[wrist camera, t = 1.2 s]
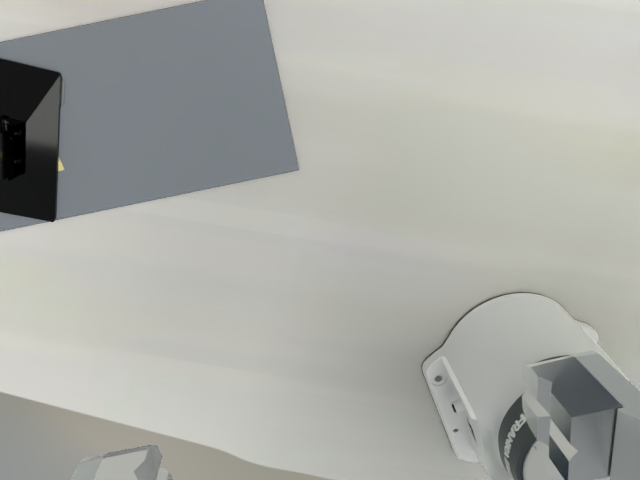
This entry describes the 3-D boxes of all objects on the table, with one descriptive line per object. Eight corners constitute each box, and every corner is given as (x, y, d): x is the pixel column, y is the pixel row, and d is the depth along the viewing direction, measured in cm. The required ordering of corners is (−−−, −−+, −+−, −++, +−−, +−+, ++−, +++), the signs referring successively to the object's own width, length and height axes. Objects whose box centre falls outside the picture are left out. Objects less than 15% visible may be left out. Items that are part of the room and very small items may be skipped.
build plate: (-38, 48, 34) (-84, 47, 29) (66, 73, 35) (36, 75, 31) (-33, 204, 38) (-73, 223, 34) (59, 221, 39) (32, 242, 35)
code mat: (298, 169, 39) (298, 170, 39) (-29, 236, 39) (-31, 237, 39) (260, -11, 34) (260, -12, 34) (-119, 67, 34) (-123, 67, 34)
